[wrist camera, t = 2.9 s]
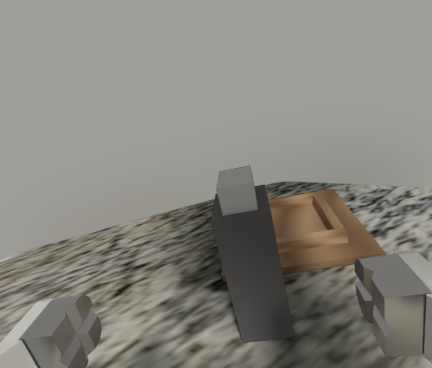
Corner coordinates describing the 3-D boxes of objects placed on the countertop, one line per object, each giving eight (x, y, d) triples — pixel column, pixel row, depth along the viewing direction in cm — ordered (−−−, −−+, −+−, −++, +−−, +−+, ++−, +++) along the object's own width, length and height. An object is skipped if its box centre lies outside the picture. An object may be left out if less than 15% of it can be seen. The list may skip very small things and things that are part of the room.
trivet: (333, 194, 43) (332, 181, 42) (385, 259, 28) (384, 241, 27) (227, 212, 45) (224, 201, 44) (222, 282, 30) (218, 266, 29)
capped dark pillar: (284, 293, 27) (260, 161, 22) (294, 337, 22) (265, 183, 18) (242, 298, 27) (210, 171, 23) (243, 342, 23) (203, 195, 18)
